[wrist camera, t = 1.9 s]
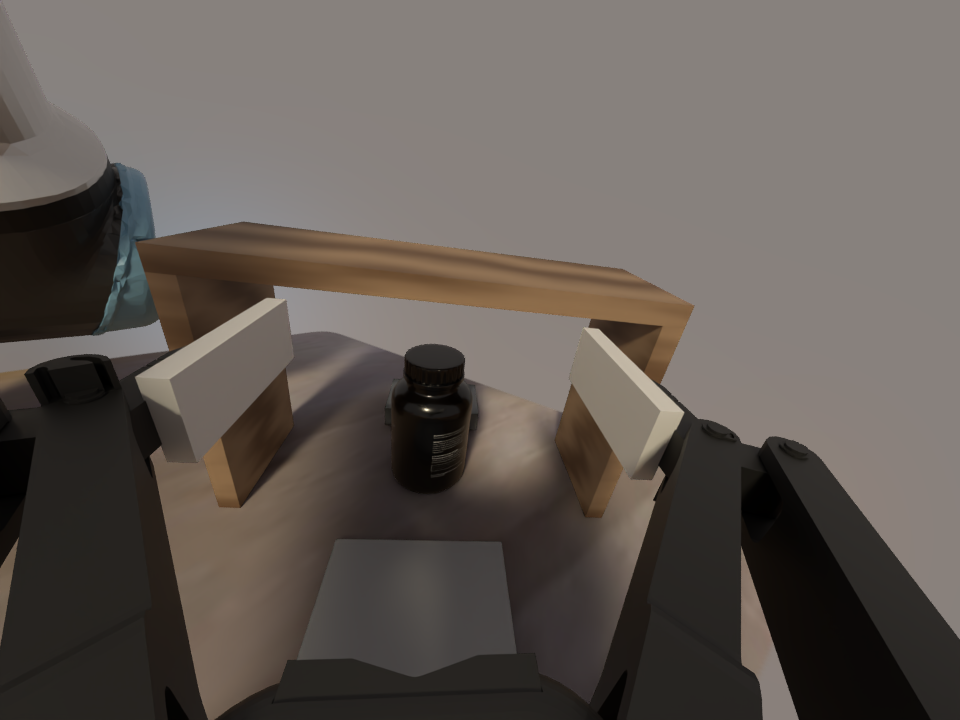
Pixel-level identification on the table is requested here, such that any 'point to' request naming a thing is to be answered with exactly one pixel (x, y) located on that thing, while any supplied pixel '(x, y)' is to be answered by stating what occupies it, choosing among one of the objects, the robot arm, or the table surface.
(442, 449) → the supplement bottle
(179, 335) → the bridge
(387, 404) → the trap tray
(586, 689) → the table surface
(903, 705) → the robot arm
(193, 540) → the table surface
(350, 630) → the coaster
